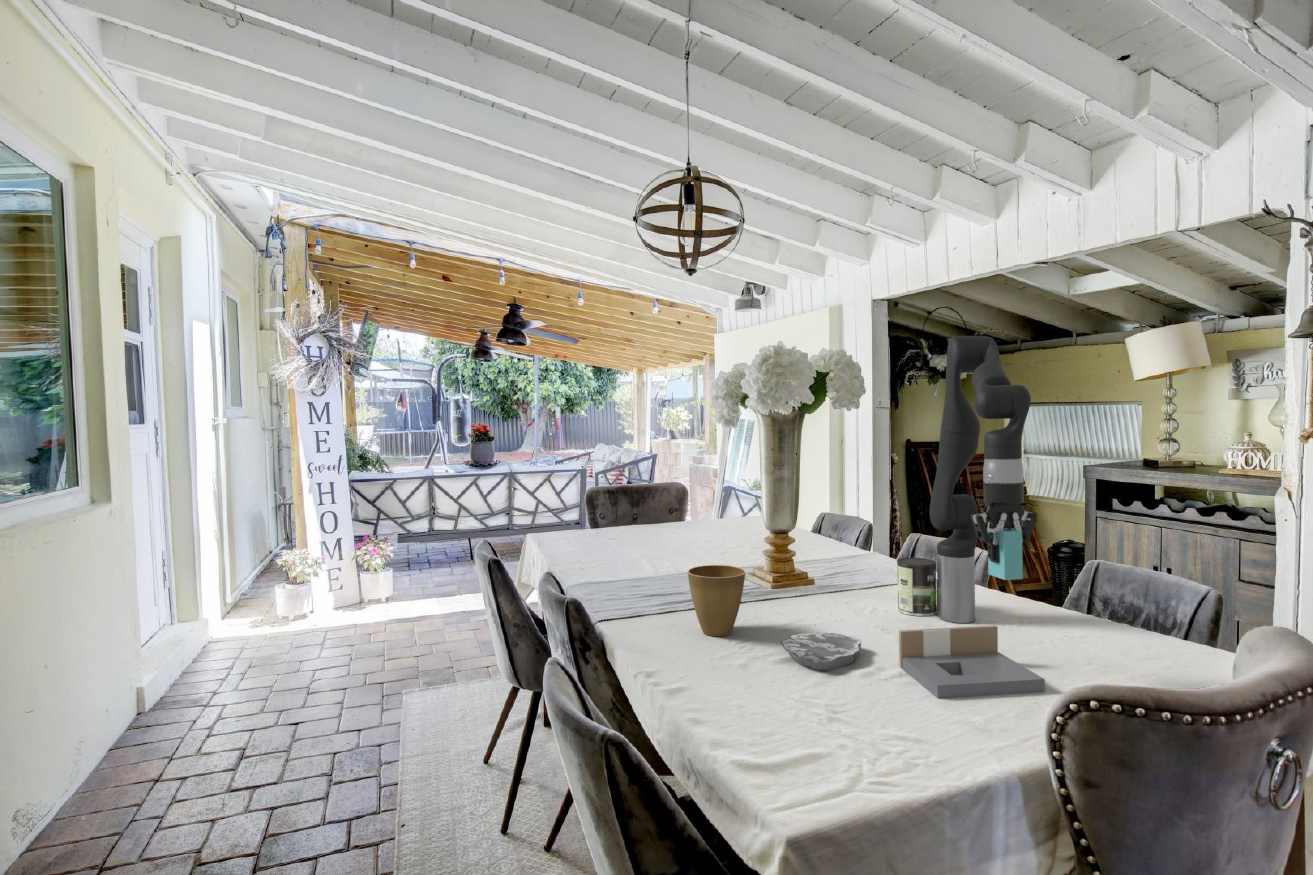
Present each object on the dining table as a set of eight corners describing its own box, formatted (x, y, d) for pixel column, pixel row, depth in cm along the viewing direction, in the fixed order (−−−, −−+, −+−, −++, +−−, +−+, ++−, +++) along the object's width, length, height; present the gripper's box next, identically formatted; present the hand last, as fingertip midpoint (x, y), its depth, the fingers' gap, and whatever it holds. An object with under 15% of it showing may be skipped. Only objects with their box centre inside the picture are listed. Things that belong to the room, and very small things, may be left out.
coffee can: (941, 609, 187) (940, 559, 186) (931, 618, 179) (930, 566, 178) (903, 603, 193) (903, 555, 193) (892, 612, 185) (891, 562, 184)
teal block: (988, 574, 143) (987, 527, 142) (1005, 573, 143) (1005, 527, 143) (1004, 580, 137) (1003, 531, 137) (1022, 579, 138) (1022, 530, 138)
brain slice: (805, 639, 166) (805, 627, 166) (872, 653, 155) (872, 640, 155) (765, 662, 151) (765, 649, 151) (836, 680, 140) (836, 666, 140)
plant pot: (744, 642, 163) (743, 578, 163) (684, 640, 166) (683, 576, 166) (748, 624, 178) (747, 564, 177) (693, 621, 181) (692, 563, 180)
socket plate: (899, 666, 146) (898, 630, 145) (995, 661, 147) (994, 625, 147) (937, 698, 129) (937, 657, 129) (1044, 691, 131) (1044, 651, 131)
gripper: (1022, 477, 144) (1024, 556, 145) (961, 479, 143) (962, 559, 143) (1046, 480, 137) (1048, 563, 137) (982, 482, 135) (983, 566, 136)
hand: (1004, 561), depth 140 cm, fingers closed on teal block, 4 cm apart
